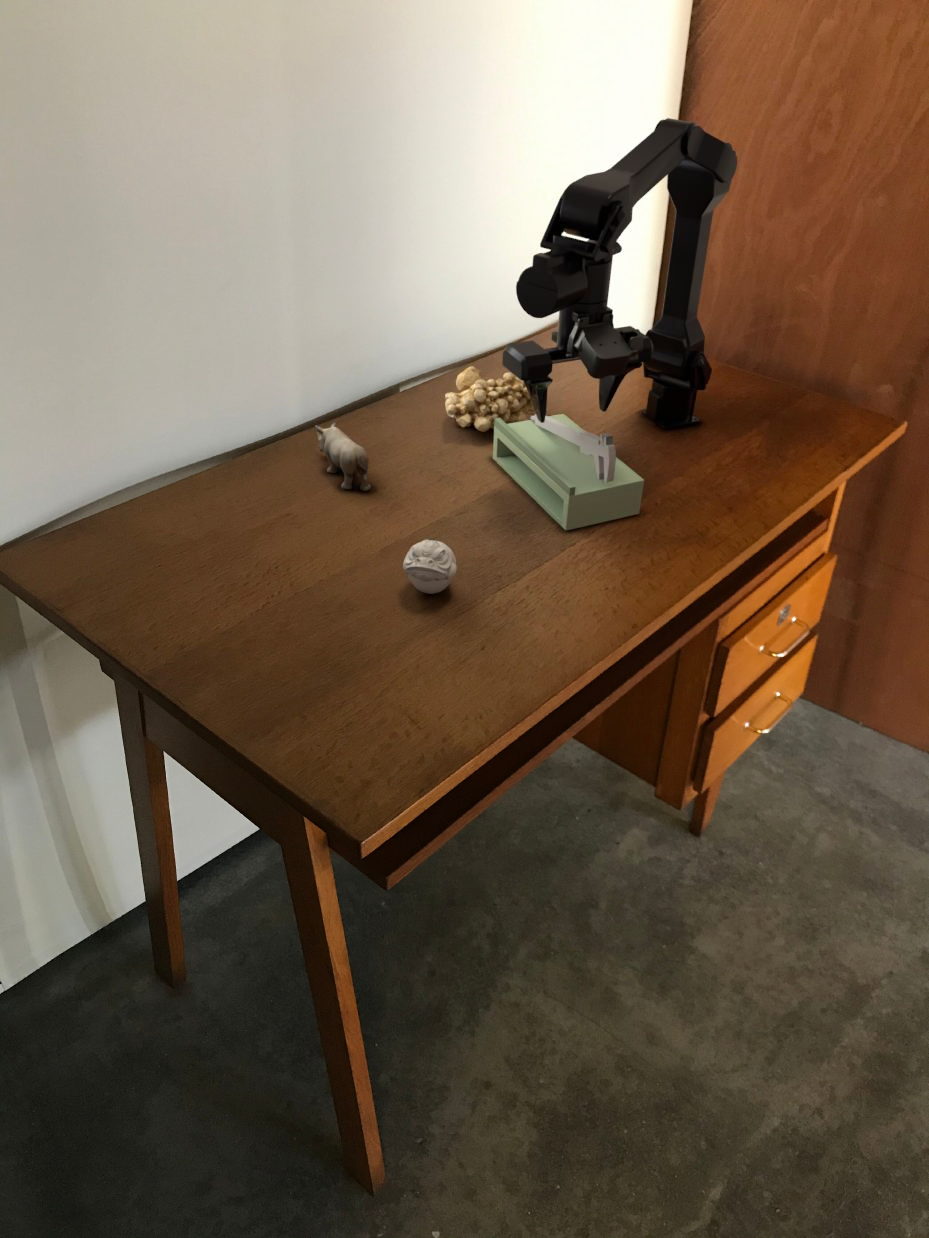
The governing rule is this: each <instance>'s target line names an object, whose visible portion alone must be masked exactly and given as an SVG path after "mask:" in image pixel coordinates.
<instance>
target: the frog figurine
mask: <svg viewBox="0 0 929 1238" xmlns="http://www.w3.org/2000/svg"><path fill="white" fill-rule="evenodd" d="M402 569H403V571H404V573H405V574H407V579H408V581H409V582H410V583H411V584H412V585H413V586H414V588H416V589H417V591H419V592H422V593H424V594H430V595H433V594H438V593H440V592H442V591H443V590H445V589H446V588H447V587H448V586H449V585H450V584H451V581H452V579H454V577H455V576H456V574H457V569H458V566H457V559H456V556H455V554H454V552H453V551H452V549H451V548H450V547H449V546H448V545H446V544H445V543H444V542H442V541H440V540H439V541H438V540H435V539H433V540H430V539H423V540H422V541H419V542H417V543H415V544H413V545H412V546H411V547H410V548H409V550H408V552H407V553H406V555H405V558H404V560H403V563H402Z"/></svg>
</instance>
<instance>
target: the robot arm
mask: <svg viewBox="0 0 929 1238" xmlns="http://www.w3.org/2000/svg"><path fill="white" fill-rule="evenodd" d="M737 168H738V156H737V152H736V150H734V148H733V146H732V144H731V143H730V142H728V141H723V140H721V139H719V138H717V137H715V136H713V134H712V135H711V134H710V133H708V132H706V131H705V130H704V129H703V127H702V126H701V125H699V124H698V125H697V123H696V122H693V121H689V120H688V121H687V120H680V119H676V118H675V119H674V118H669V117H667V118H665V119H660V120H659V121H658V123H657V124H656V126H655V128H654V130H653V131H652V132H651V133H650V134H648V135H647V136H646V137H645V138H644V139H643V140H642V141H640V142H639V143H638V144H637V145H636V146H634V148H632V149H631V150H630V151H629V152H628V153H627V154H625V155H624V156H623V157H622V158H621V159H620V160H618V161H617V162H616V163H615V164H614V165H612V166H611V167H610V168H608V169H607V170H605V171H601V172H595V173H590V174H586V175H584V176H582V177H580V178H578V179H576V180H575V181H572V182H571V183H570V184H569V185H568V186H567V187H566V188H565V189H564V191H562V194H561V195H560V197H559V199H558V201H557V204H556V207H555V208H554V211H553V213H552V216H551V218H550V220H549V222H548V225H547V227H546V228H545V231H544V234H543V236H542V239H541V240H540V244H539V247H540V248H542V249H546V250H549V251H546V252H538V253H536V254H534V255H533V256H532V264H531V266H529V267H526V268H525V269H524V270H523V271H522V272H521V273H520V275H519V277H518V279H517V281H516V284H515V292H516V298H517V301H518V303H519V305H520V307H521V308H522V310H523V311H524V312H525V313H526V314H527V315H528V316H530V317H532V318H534V319H544V318H547V317H549V316H551V315H553V314H556V313H558V322H557V330H556V331H552V332H551V339H550V340H551V341H552V342H553V343H555V346H554V347H548V348H544V347H542V346H541V345H540V344H539V343H537V342H536V341H535V340H532V339H531V340H527V341H519V342H513V343H508V344H507V346H505V348H504V349H503V352H502V361H501V362H502V364H501V365H502V366H503V367H504V368H505V369H507V370H508V371H509V373H513V375H514V377H515V376H517V377H518V378H519V379H520V380H523V381H524V384H525V386H526V388H527V390H528V393H529V396H530V398H531V401H532V404H533V407H534V410H535V414H536V415H537V418H538V420H539V421H540V422H541V423H544V422H545V417H546V416H547V408H548V407H547V406H548V388H549V386H550V385H552V383H553V381H554V379H553V378H551V376H550V374H551V373H552V372H553V366H554V364H555V365H556V364H563V363H568V362H575V361H581V363H582V364H583V366H584V367H585V369H586V371H587V374H588V375H589V376H590V378H593V379H596V380H599V381H598V406H599V410H600V411H601V412H607V411H608V409H609V407H610V405H611V403H612V401H613V399H614V397H615V396H616V393H617V392H618V389H619V388H620V386H621V384H622V382H623V380H624V379H625V378H626V376H627V375H628V374H629V373H631V372H633V371H634V370H636V369H640V368H641V367H642V368H643V377H644V378H646V379H651V380H652V381H651V388H650V389H649V391H648V396H647V402H646V408H645V409H642V410H641V414H642V415H643V416H645V418H647V419H648V420H649V421H651V422H652V423H654V424H655V425H657V426H658V427H659V428H661V429H662V430H670V429H677V428H682V427H686V426H691V425H697V424H699V423H700V419H699V418H697V417H696V416H695V415H694V412H695V406H696V400H697V394H698V391H706V389H707V385H708V384H709V381H710V380H711V375H712V372H713V368H712V366H711V364H710V362H709V361H708V358H707V356H706V354H705V341H706V336H705V333H704V330H703V328H702V326H701V323H700V320H699V318H698V312H699V311H698V310H699V304H700V299H701V292H702V286H703V280H704V273H705V266H706V261H707V255H708V248H709V242H710V235H711V229H712V223H713V216H714V211H715V210H716V209H717V207H718V206H719V205H720V203H721V202H722V201H723V199H725V197H726V196H727V195H728V193H729V192H730V188H731V184H732V181H733V178H734V176H735V174H736V171H737ZM666 177H667V178H666ZM665 178H666V189H667V193H668V195H669V197H670V201H671V202H672V205H673V208H674V209H675V217H674V224H673V232H672V239H671V246H670V252H669V259H668V268H667V274H666V283H665V290H664V297H663V306H662V311H661V317H659V319H658V320H657V321H656V322H655V324H654V325H653V327H652V328H651V329H648V330H647V331H646V332H645V334H644V333H643V332H642V331H641V330H640V329H639V328H635V327H633V326H631V325H627V326H621V327H614V314H613V312H614V310H613V308H611V307H609V306H608V303H609V292H610V284H611V277H612V267H613V257H614V256H615V255H618V254H619V253H621V252H622V251H623V247H622V245H621V244H620V243H619V242H618V240H619V238H620V236H621V235H622V234H623V232H624V231H625V230H626V229H627V227H628V226H629V225H630V224H631V223H632V221H633V210H634V207H635V206H636V204H637V203H638V202H639V201H640V200H641V199H642V198H643V197H645V196H646V195H647V194H648V193H649V192H650V191H651V190H652V189H654V188H655V187H656V186H657V185H658V184H659V183H660V182H661V181H662V180H663V179H665ZM564 233H565V234H567V235H569V236H567V235H563V234H564ZM570 236H575V237H577V238H574V237H570ZM578 238H583V240H582V239H578ZM584 239H586V240H584Z"/></svg>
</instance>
